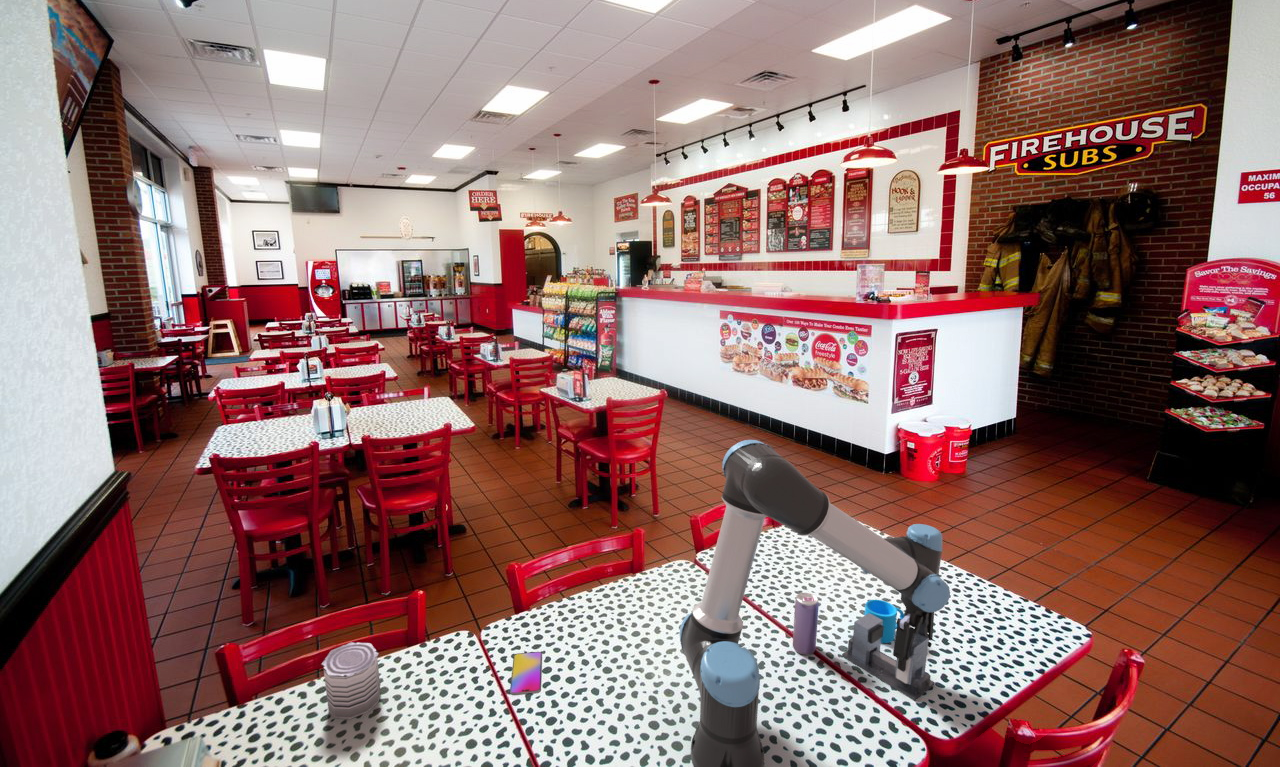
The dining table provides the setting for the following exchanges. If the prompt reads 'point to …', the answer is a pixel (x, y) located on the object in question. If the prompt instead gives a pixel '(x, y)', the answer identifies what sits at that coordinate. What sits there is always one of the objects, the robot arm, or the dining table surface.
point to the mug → (884, 617)
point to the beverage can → (805, 623)
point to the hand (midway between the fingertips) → (910, 673)
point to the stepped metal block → (917, 656)
